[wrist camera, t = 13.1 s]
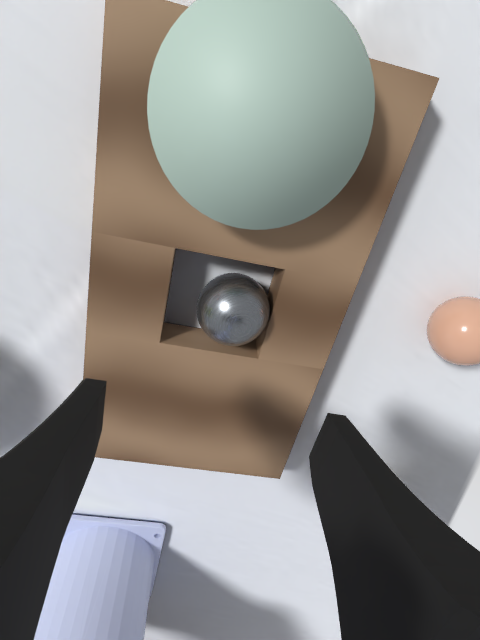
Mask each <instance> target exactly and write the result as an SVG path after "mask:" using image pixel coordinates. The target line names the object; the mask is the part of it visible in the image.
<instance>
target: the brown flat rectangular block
mask: <svg viewBox="0 0 480 640" xmlns="http://www.w3.org/2000/svg"><path fill="white" fill-rule="evenodd" d="M187 8H188V7H187V6H184V5H180V4H177V3H173V2H170V1H166V0H105V16H104V33H103V50H102V67H101V84H100V101H99V119H98V136H97V153H96V170H95V187H94V204H93V221H92V239H91V256H90V273H89V290H88V307H87V324H86V341H85V359H84V376H83V380H84V379H86V378H90V379H96V380H103V381H107V384H106V394H105V405H104V415H103V426H102V432H101V436H100V440H99V443H98V447H97V451H96V454H95V457H98V458H107V459H115V460H124V461H132V462H141V463H149V464H158V465H167V466H175V467H184V468H192V469H201V470H209V471H218V472H226V473H235V474H243V475H252V476H261V477H269V478H278V479H280V477H281V474H282V472H283V469H284V467H285V464H286V462H287V459H288V457H289V454H290V452H291V449H292V447H293V444H294V442H295V439H296V437H297V434H298V432H299V429H300V427H301V424H302V422H303V419H304V417H305V414H306V412H307V409H308V407H309V404H310V401H311V399H312V396H313V394H314V391H315V389H316V386H317V384H318V381H319V379H320V376H321V374H322V371H323V369H324V366H325V364H326V361H327V359H328V356H329V354H330V351H331V349H332V346H333V344H334V341H335V339H336V336H337V334H338V331H339V329H340V326H341V324H342V321H343V319H344V316H345V314H346V311H347V309H348V306H349V304H350V301H351V299H352V296H353V294H354V291H355V289H356V286H357V284H358V281H359V279H360V276H361V274H362V271H363V269H364V266H365V264H366V261H367V259H368V256H369V253H370V251H371V248H372V246H373V243H374V241H375V238H376V236H377V233H378V231H379V228H380V226H381V223H382V221H383V218H384V216H385V213H386V211H387V208H388V206H389V203H390V201H391V198H392V196H393V193H394V191H395V188H396V186H397V183H398V181H399V178H400V176H401V173H402V171H403V168H404V166H405V163H406V161H407V158H408V156H409V153H410V151H411V148H412V146H413V143H414V141H415V138H416V136H417V133H418V131H419V128H420V126H421V123H422V121H423V118H424V116H425V113H426V110H427V108H428V105H429V103H430V100H431V98H432V95H433V93H434V90H435V88H436V85H437V83H438V80H439V78H437V77H434V76H430V75H427V74H423V73H420V72H416V71H413V70H409V69H406V68H402V67H399V66H395V65H392V64H388V63H385V62H381V61H377V60H374V59H370V58H369V60H370V64H371V69H372V74H373V78H374V89H375V112H374V118H373V125H372V130H371V134H370V138H369V141H368V145H367V147H366V150H365V152H364V155H363V157H362V159H361V161H360V163H359V165H358V167H357V169H356V171H355V172H354V174H353V175H352V177H351V178H350V180H349V181H348V183H347V184H346V185H345V186H344V188H343V189H342V190H341V191H340V192H339V193H338V195H337V196H335V197H334V198H333V199H332V200H331V201H330V202H329V203H328V204H327V205H325V206H324V207H323V208H321V209H320V210H319V211H317V212H316V213H314V214H312V215H310V216H309V217H307V218H305V219H303V220H301V221H298V222H296V223H293V224H291V225H287V226H283V227H280V228H274V229H266V230H250V229H242V228H236V227H232V226H229V225H225V224H223V223H220V222H218V221H215V220H213V219H211V218H209V217H208V216H206V215H204V214H202V213H201V212H199V211H198V210H197V209H195V208H194V207H193V206H191V205H190V204H189V203H188V202H187V201H186V200H185V199H184V198H183V197H182V196H181V195H180V194H179V193H178V192H177V190H176V189H175V188H174V187H173V186H172V184H171V183H170V181H169V180H168V178H167V176H166V175H165V173H164V172H163V170H162V167H161V165H160V163H159V161H158V159H157V157H156V154H155V151H154V148H153V145H152V141H151V136H150V132H149V126H148V116H147V95H148V88H149V81H150V75H151V72H152V68H153V65H154V61H155V58H156V56H157V53H158V51H159V49H160V46H161V44H162V42H163V40H164V39H165V37H166V35H167V33H168V32H169V30H170V28H171V27H172V26H173V24H174V23H175V22H176V21H177V19H178V18H179V17H180V15H181V14H182V13H183V12H184V11H185V10H186V9H187ZM176 248H178V249H183V250H188V251H193V252H198V253H203V254H208V255H213V256H219V257H224V258H229V259H234V260H239V261H244V262H249V263H254V264H259V265H264V266H270V267H275V271H274V274H273V278H272V281H271V285H270V288H269V292H268V295H267V297H268V300H269V305H270V313H269V319H268V322H267V325H266V327H265V329H264V330H263V331H262V333H261V334H260V335H259V336H258V337H257V338H256V339H254V340H253V341H251V342H249V343H247V344H244V345H240V346H227V345H222V344H220V343H217V342H216V341H214V340H212V339H211V338H210V337H209V336H208V335H207V334H206V333H205V332H204V331H203V329H201V328H195V327H189V326H183V325H177V324H171V323H165V322H164V319H165V313H166V307H167V300H168V294H169V288H170V282H171V276H172V269H173V263H174V257H175V251H176Z"/></svg>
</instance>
